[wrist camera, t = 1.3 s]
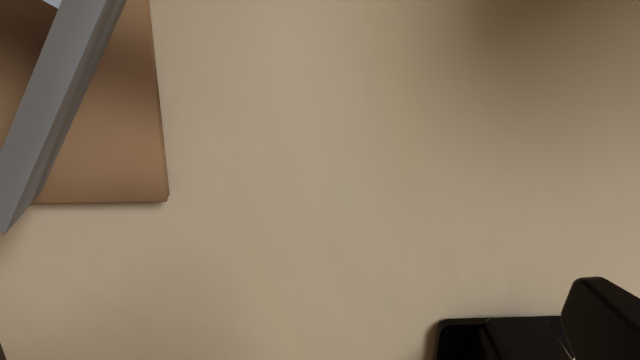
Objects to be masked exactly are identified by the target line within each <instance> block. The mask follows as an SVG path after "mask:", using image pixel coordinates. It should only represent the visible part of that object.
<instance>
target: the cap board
mask: <svg viewBox="0 0 640 360" xmlns="http://www.w3.org/2000/svg"><path fill="white" fill-rule="evenodd" d="M168 197H169V186H168V177H167V167H166V158H165V148H164V139H163V130H162V120H161V111H160V101H159V92H158V82H157V73H156V63H155V54H154V44H153V35H152V25H151V16H150V6H149V0H0V232H1V233H3V234H5V233H6V232H7V231H8V230H9V229H10V227H11V226H12V225H13V224H14V223H15V222H16V221H17V219H18V218H19V217H20V216H21V215H22V214H23V212H24V211H25V210H26V209H27V208H28V207H29V206H30V204H31V203H90V202H167V199H168Z"/></svg>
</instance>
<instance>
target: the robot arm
mask: <svg viewBox="0 0 640 360" xmlns="http://www.w3.org/2000/svg"><path fill="white" fill-rule="evenodd" d="M450 329H453V330H452V331H451V332H446V331H447V330H450ZM574 357H575V360H640V299H639V298H638V297H636V296H634V295H633V294H631V293H629V292H627V291H626V290H624V289H622V288H620V287H619V286H617V285H615V284H614V283H612V282H610V281H608V280H607V279H605V278H602V277H584V278H578V279H576V280H575V281H574V282H573V284H572V286H571V289H570V291H569V294H568V296H567V299H566V301H565V304H564V306H563V309H562V312H561V316H540V317H503V318H465V319H446V320H444V321H442V322H441V323H440V324H439V325H438V327H437V333H436V340H435V348H434V355H433V360H573V358H574ZM0 360H6V357H5V354H4V352H3V349H2V346H1V344H0Z"/></svg>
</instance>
